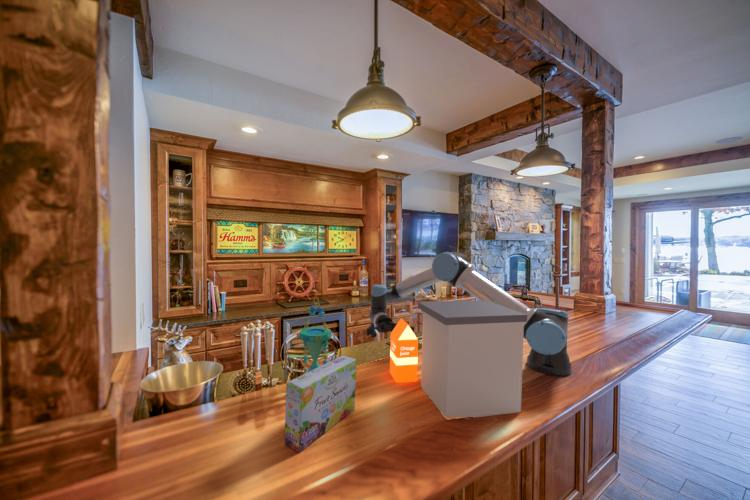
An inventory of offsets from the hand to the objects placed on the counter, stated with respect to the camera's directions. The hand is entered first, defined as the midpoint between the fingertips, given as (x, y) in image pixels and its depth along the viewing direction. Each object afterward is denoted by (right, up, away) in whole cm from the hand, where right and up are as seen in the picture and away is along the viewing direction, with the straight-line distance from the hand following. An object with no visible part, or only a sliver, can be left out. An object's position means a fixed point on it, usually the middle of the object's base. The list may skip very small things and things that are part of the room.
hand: (396, 337), depth 116 cm
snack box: (-21, -12, -39) cm, 46 cm away
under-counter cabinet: (+20, -12, -24) cm, 33 cm away
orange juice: (+2, -12, -9) cm, 15 cm away
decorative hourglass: (-28, -11, -20) cm, 36 cm away
